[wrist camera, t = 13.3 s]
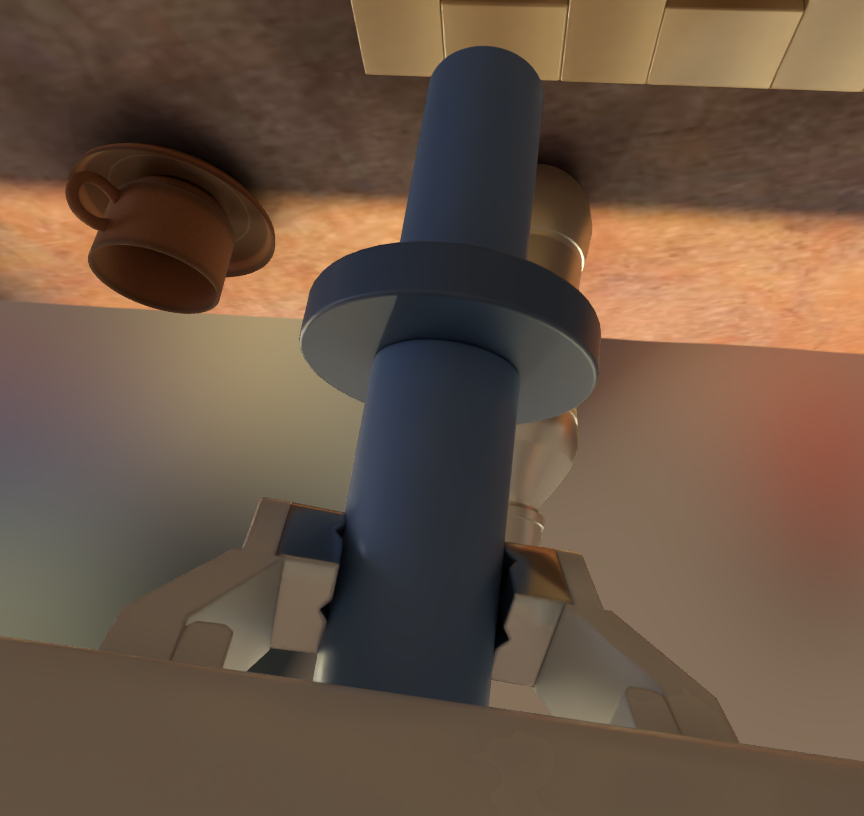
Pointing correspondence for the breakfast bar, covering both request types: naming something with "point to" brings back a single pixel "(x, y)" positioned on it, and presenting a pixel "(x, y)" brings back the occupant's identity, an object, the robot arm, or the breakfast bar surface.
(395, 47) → the rack
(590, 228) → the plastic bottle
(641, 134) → the breakfast bar surface
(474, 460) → the peg
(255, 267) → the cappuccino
